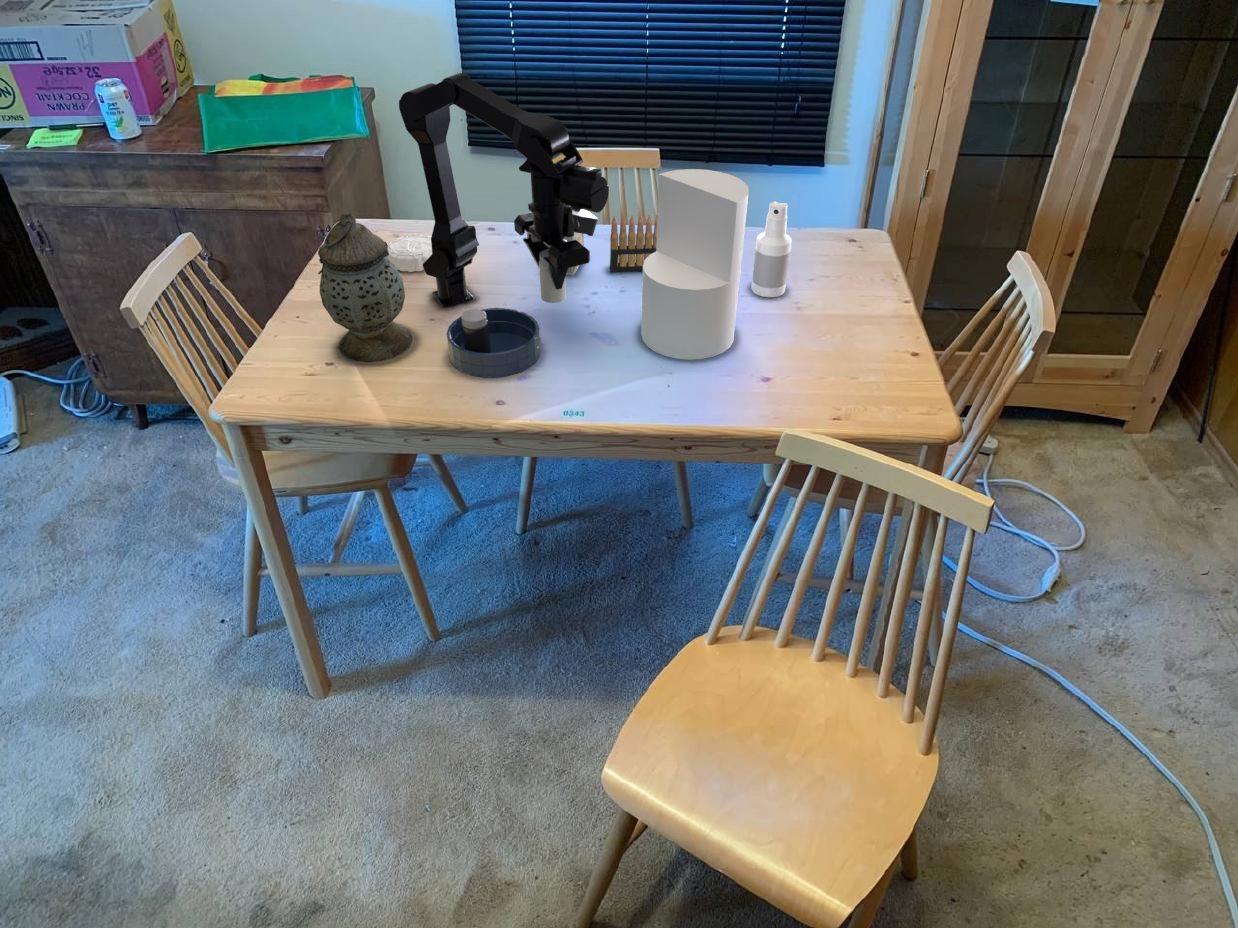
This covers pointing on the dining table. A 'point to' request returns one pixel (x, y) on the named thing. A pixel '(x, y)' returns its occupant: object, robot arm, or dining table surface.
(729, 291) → the cylinder
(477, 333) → the pepper shaker
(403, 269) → the mooncake
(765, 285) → the spray bottle
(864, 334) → the dining table surface
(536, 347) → the bowl
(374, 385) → the dining table surface
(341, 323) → the lantern
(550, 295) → the salt shaker
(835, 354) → the dining table surface
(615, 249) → the ammunition clip
